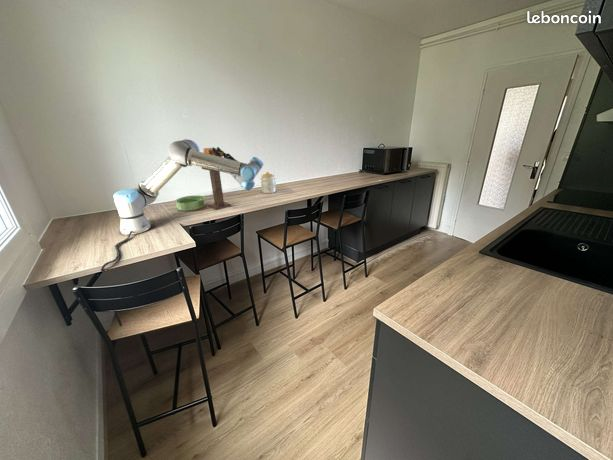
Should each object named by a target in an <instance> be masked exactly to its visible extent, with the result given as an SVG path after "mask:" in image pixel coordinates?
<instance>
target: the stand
mask: <svg viewBox="0 0 613 460" xmlns="http://www.w3.org/2000/svg"><path fill="white" fill-rule="evenodd" d="M201 169H202V170H204V171H209V178H210V184H211V189H212V196H213V201H214V202H212V203H209V204H207V207H209V208H211V209H213V210H216V211H218V210H221V209H225V208H229V207H232V204H231V203H229V202H226V201H225V199H224V193H223V185H222V178H221V173H220V171H216V170H212V169H208V168H204V167H201Z"/></svg>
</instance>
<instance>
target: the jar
mask: <svg viewBox="0 0 613 460" xmlns="http://www.w3.org/2000/svg"><path fill="white" fill-rule="evenodd" d="M260 181H261V182H260V187H261V193H263V194H273V193H276V191H277V186H276V177H275V175H274V174H272V173H270V172H269V171H266V172H265V173H264V174H263V173H262V175H261V177H260Z"/></svg>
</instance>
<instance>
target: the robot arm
mask: <svg viewBox="0 0 613 460" xmlns="http://www.w3.org/2000/svg"><path fill="white" fill-rule="evenodd" d="M212 148H213V149H212V151H213V152H214V154H215V156H214V155H210V154H206V153H204V152H202V151H200V147H199V145H198V143H196V142H195V141H194V140H192V139H186V138H184V139H182V140H176V141H173V142H171V143H170V144H169V145H168V148H167V153H168V157H167V158H166V159H165V160H164V161H163V162H162V163H161V165H159V167H158V168H157V169H156V170H155V171H154V172H153V173H152V174H151V175H150V176H149V177H148V178H147V179H146V180H143V181H140V182H139V183H138V184H137V186H136V187H134V188H123V189H121V190H118V191H116V192H115V193H114V194H113V201H114V204H115V207H116V209H117V213H118V216H119V218H120V226H119V230H120V233H121V234H122V235H124V236H125V235H126V236H127V237H126V238H125V239H123V240H122V241H119V242H117V243H116V244H115V245H114V246H113V249H114V251H115V258H114V259H113V260H110V261H108V262H105V263H104V264H102V265H101V267H100V270H99V271H100V272H103V271H104V269H105V267H107V266H108V265H110V264H112V263H115V262H116V261H118V259H119V257H120V253H119V250H118V248H117V247H118V246H120V245H121V244H123V243H125V242H127V241H128V240H129V239H130V237H131V236H132V235H138V234H141V233H144V232H147V231H149V230H150V229H151V227H152V225H151V222H150V221H149V219H147V217H146V216H145V213H144V210H143V209H144V208H145V207H147V206H149V205H151V204H153V203H154V202H155V201H156V200H157V198H158V196H159V195H160V190H161V189H162V188H163V187H164V186H166V184H167V183H168V182H169V181H170V180H171V179H172V178H173V177H174V176H175V175H176V174H177V173H178V172H179V171H180V170H181V169H182V168H187V167H192V166H196V167H200V168H202V167H204V168H208V169H212V170H216V171H220V172H221V173H226V174H229V175H231V177H232V178H233V179H234V180H235V181H236V182H237V183H238V184H239V185H240V187H241V188H242V189H243V190H244V191H251V190H253V188H255V186H256V185H255V184H256V183H255V178H256V177H257V175H258V174H259V172H260V171H261V170H262V168H263V166H264V162H263V161H262V159H259V158H258V157H257V156H253V157H251V159H250V161H249V162H248V163H246V162H242V161H239V160H237V159H236V158H235V157H234V156H232V155H231V154H230V153H226V152H224V150H222V149H221V148H220V147H219V146H217V147H214V146H213V147H212ZM215 148H217V150H216V149H215ZM218 151H219V152H223V155H224V156H220V155H219V152H218ZM113 312H114V315H115V318H116V320H117V323H118V325H119V327H122V326H123V323H122V321H121V318H120V315H119V313H118V311H117V310H116V311H114V310H113Z"/></svg>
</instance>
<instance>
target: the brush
mask: <svg viewBox="0 0 613 460" xmlns="http://www.w3.org/2000/svg"><path fill="white" fill-rule="evenodd" d="M214 148H215V149H216V150H217V147H214ZM212 149H213V147H205V148H202V151H203V153H206V154H210V155H214V156H215V154H214V152H213V151H212ZM218 152H219V151H218ZM223 152H224V151H223ZM223 152H219V155H220V156H221V157H224V155H223Z"/></svg>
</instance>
